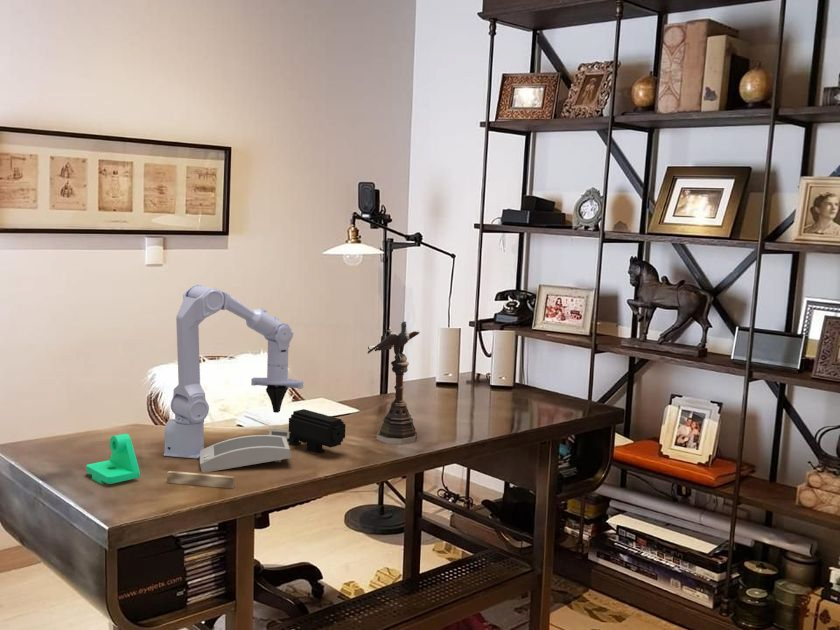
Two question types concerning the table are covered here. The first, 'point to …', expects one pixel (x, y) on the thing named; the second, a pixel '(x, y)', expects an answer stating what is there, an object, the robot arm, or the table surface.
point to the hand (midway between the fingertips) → (276, 411)
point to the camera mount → (116, 462)
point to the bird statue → (397, 392)
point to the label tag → (279, 432)
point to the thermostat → (244, 452)
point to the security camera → (315, 430)
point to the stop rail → (200, 479)
